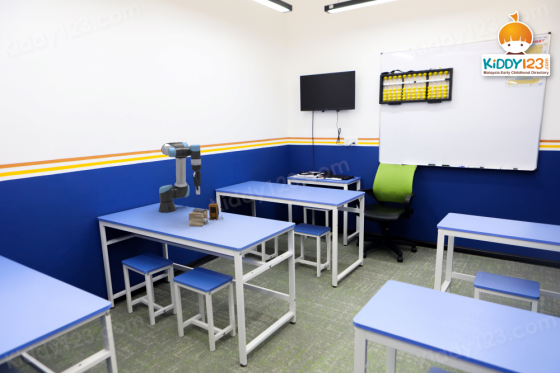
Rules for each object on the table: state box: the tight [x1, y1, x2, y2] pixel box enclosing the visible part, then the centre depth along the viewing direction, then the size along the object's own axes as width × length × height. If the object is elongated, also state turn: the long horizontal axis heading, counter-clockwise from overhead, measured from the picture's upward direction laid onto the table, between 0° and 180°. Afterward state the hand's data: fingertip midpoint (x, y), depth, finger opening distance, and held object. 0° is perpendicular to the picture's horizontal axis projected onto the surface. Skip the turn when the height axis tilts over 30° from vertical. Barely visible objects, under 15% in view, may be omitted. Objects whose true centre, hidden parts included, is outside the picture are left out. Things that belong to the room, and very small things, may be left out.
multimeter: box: [206, 195, 224, 221], centre depth 297 cm, size 15×10×20 cm
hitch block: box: [188, 208, 209, 227], centre depth 282 cm, size 14×10×12 cm
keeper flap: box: [192, 207, 206, 212], centre depth 281 cm, size 6×8×1 cm
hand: (198, 194), depth 279 cm, fingers closed
